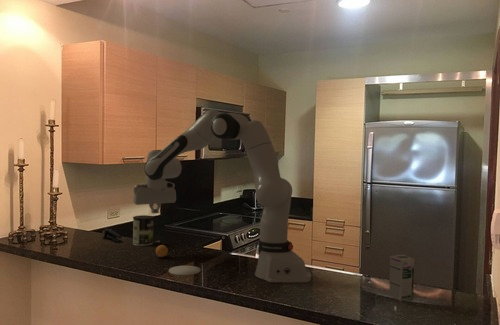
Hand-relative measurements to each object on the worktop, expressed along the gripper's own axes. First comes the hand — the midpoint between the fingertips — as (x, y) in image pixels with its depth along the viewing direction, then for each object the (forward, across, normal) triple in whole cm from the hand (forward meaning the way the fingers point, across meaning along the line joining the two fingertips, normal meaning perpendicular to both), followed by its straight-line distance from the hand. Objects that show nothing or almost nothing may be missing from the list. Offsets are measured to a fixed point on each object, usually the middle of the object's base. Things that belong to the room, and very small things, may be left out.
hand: (154, 213), depth 193 cm
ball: (+16, 0, -9) cm, 19 cm away
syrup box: (+19, +51, -99) cm, 113 cm away
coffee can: (+19, +2, +20) cm, 28 cm away
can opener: (+20, -9, +36) cm, 42 cm away
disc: (+19, 0, -33) cm, 38 cm away
